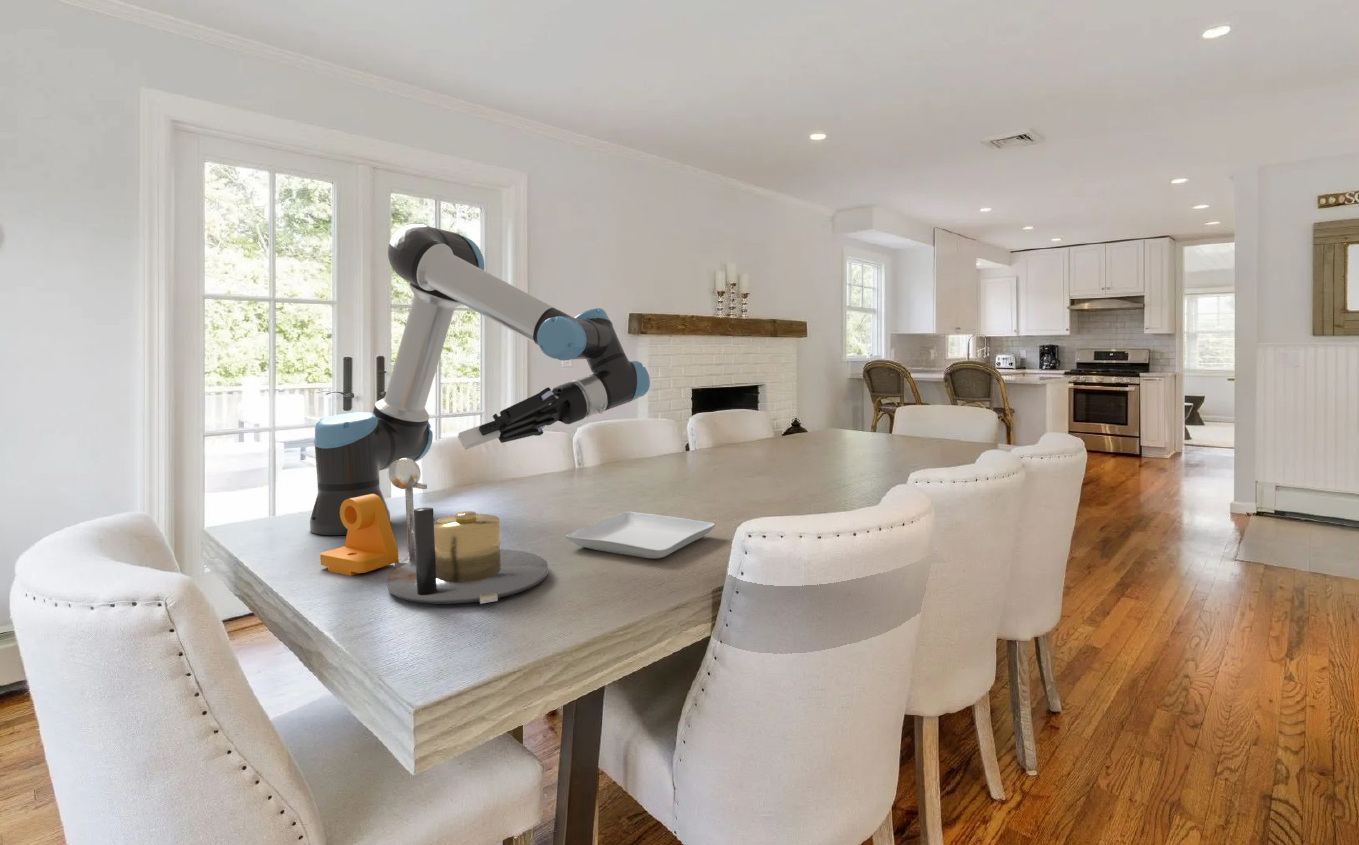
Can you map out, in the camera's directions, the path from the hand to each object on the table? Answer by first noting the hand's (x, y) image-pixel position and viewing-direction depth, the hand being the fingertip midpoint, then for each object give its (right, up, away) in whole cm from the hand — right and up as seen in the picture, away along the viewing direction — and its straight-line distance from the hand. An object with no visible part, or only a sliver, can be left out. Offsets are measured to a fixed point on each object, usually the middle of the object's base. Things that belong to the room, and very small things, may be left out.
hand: (462, 441), depth 119 cm
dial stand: (-8, -21, -1) cm, 23 cm away
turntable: (+4, -22, -10) cm, 24 cm away
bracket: (-17, -22, -2) cm, 27 cm away
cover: (+4, -20, -10) cm, 23 cm away
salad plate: (+30, -20, +12) cm, 38 cm away
